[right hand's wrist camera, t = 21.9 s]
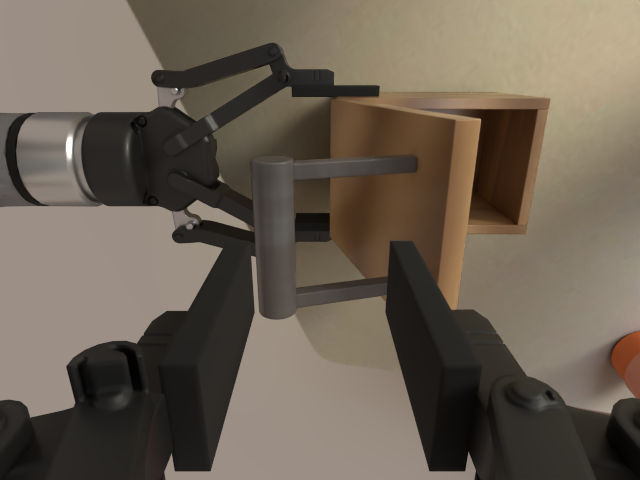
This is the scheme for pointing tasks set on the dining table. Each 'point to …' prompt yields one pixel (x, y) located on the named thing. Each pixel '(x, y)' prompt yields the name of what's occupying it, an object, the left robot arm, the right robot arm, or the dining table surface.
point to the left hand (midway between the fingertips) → (374, 159)
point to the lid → (370, 202)
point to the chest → (491, 150)
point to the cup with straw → (628, 361)
